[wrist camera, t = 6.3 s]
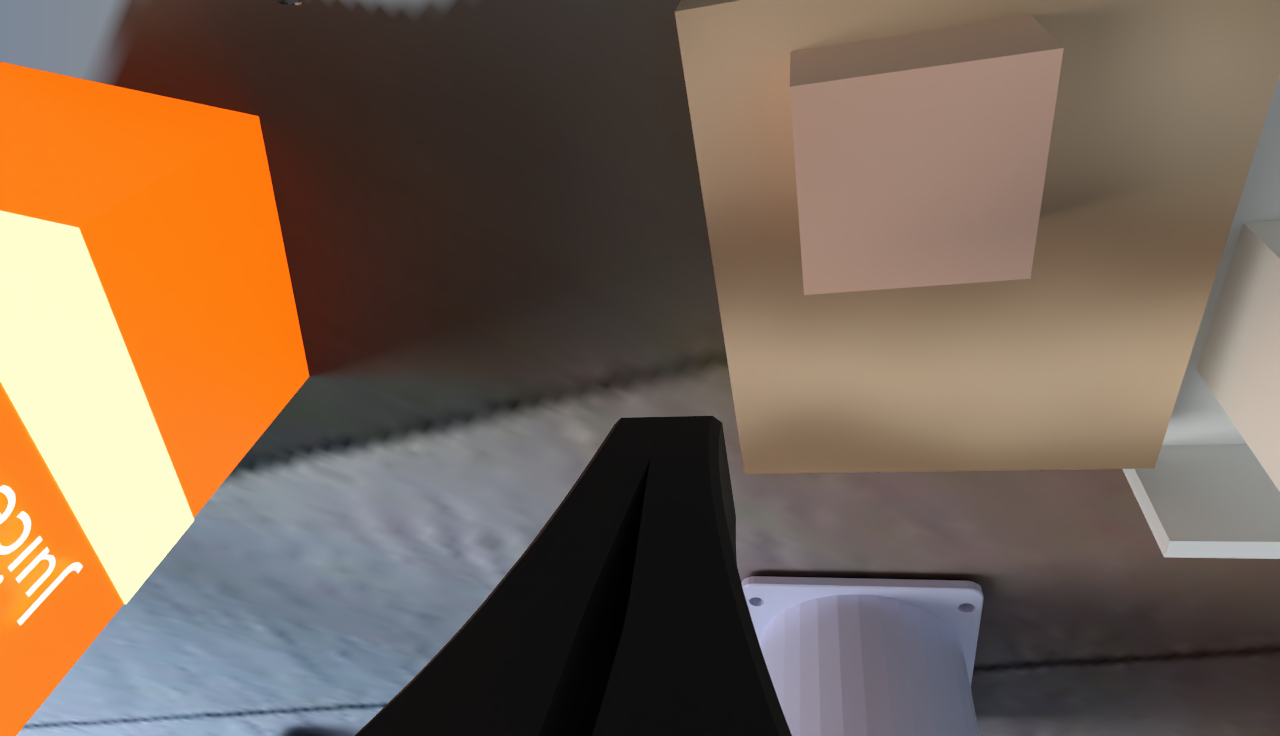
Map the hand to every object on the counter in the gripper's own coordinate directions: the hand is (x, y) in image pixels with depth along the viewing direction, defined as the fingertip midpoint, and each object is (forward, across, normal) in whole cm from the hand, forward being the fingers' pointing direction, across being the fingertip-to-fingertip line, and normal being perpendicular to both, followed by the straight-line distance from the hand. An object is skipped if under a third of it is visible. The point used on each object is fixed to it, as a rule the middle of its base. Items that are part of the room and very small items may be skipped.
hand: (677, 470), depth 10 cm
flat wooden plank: (+10, -5, +2) cm, 11 cm away
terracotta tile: (+8, -4, -1) cm, 8 cm away
